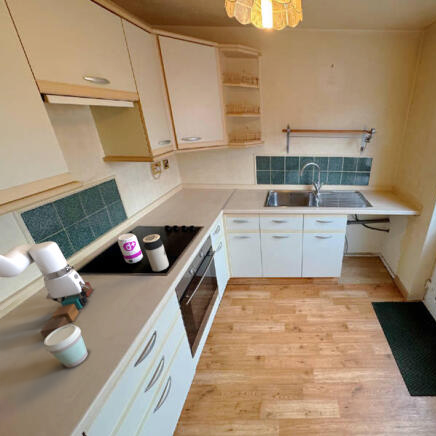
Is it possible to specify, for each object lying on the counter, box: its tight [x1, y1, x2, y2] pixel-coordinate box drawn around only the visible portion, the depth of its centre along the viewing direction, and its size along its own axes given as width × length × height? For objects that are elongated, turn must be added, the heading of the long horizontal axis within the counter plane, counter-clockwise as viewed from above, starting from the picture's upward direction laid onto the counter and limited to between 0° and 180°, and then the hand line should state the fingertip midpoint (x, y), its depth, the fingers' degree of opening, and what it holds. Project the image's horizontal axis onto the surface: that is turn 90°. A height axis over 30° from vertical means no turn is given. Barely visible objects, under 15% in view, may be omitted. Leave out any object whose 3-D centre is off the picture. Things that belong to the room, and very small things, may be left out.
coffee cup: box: [43, 324, 89, 368], centre depth 74 cm, size 8×9×12 cm
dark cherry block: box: [81, 281, 93, 299], centre depth 102 cm, size 5×5×5 cm
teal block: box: [61, 294, 84, 311], centre depth 96 cm, size 5×5×5 cm
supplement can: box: [117, 232, 144, 264], centre depth 125 cm, size 8×8×15 cm
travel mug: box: [142, 233, 170, 272], centre depth 117 cm, size 8×8×18 cm
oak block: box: [51, 304, 80, 324], centre depth 90 cm, size 5×5×5 cm
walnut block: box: [40, 317, 71, 340], centre depth 84 cm, size 5×5×5 cm
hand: (76, 305), depth 97 cm, fingers closed on teal block, 5 cm apart
